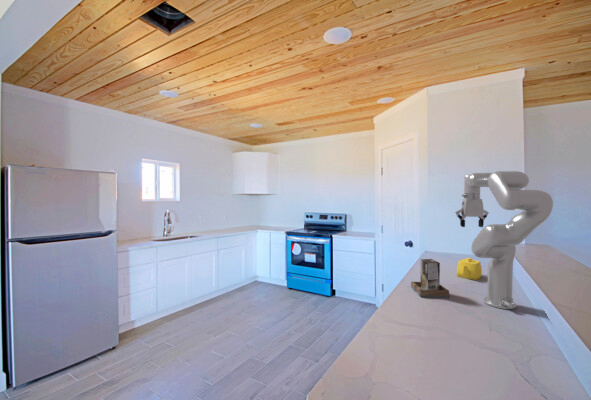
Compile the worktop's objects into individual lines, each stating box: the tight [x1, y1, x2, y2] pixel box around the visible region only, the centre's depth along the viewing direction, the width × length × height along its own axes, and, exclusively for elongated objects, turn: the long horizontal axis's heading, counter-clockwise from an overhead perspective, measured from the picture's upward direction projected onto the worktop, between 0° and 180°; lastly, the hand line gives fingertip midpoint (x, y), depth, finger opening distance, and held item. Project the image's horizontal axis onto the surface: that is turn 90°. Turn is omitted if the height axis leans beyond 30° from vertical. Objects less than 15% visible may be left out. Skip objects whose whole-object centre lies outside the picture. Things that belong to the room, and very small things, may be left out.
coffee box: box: [420, 258, 441, 290], centre depth 148 cm, size 9×6×16 cm
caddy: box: [410, 281, 450, 299], centre depth 148 cm, size 14×14×4 cm
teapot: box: [456, 257, 483, 281], centre depth 176 cm, size 20×12×12 cm, turn 134°
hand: (471, 226), depth 155 cm, fingers open, 9 cm apart
